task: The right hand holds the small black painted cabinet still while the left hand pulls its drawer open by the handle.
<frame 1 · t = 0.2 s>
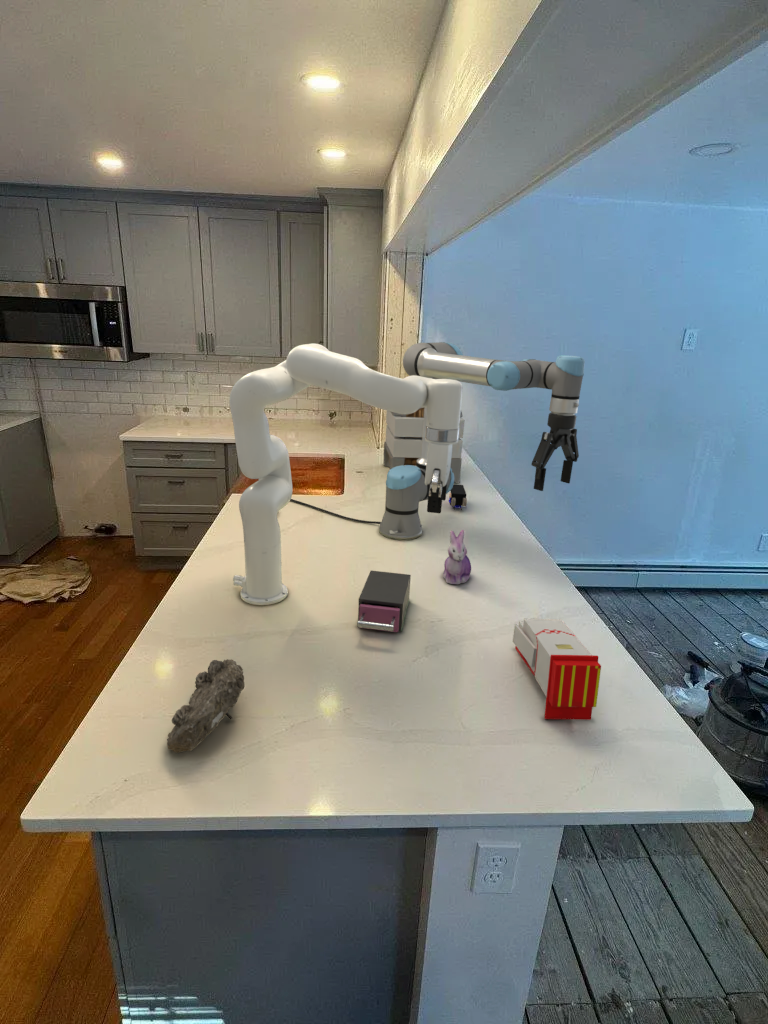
left hand: (436, 505, 135), 31 cm above the counter, tool pointing down, fingers open, 9 cm apart
right hand: (551, 486, 166), 28 cm above the counter, tool pointing down, fingers open, 13 cm apart
white slatted crate: (419, 473, 275), on the counter
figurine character: (456, 506, 231), on the counter
feather: (277, 515, 212), on the counter
toy: (546, 678, 124), on the counter
cabinet: (384, 612, 148), on the counter
drawer: (382, 609, 142), point 4 cm above the counter, slide at 0.7 cm
figurine: (456, 578, 168), on the counter
fossil: (212, 717, 108), on the counter
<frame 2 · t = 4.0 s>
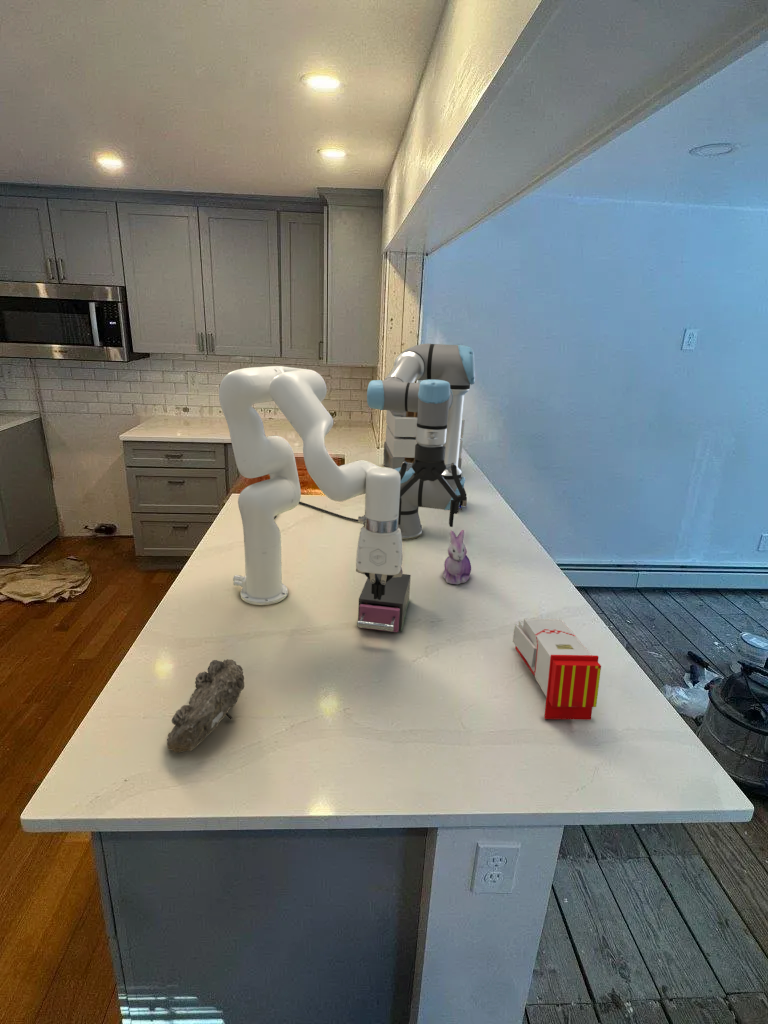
left hand: (378, 596, 132), 11 cm above the counter, tool pointing down, fingers closed
right hand: (424, 524, 148), 22 cm above the counter, tool pointing down, fingers open, 13 cm apart
nothing on the counter moved.
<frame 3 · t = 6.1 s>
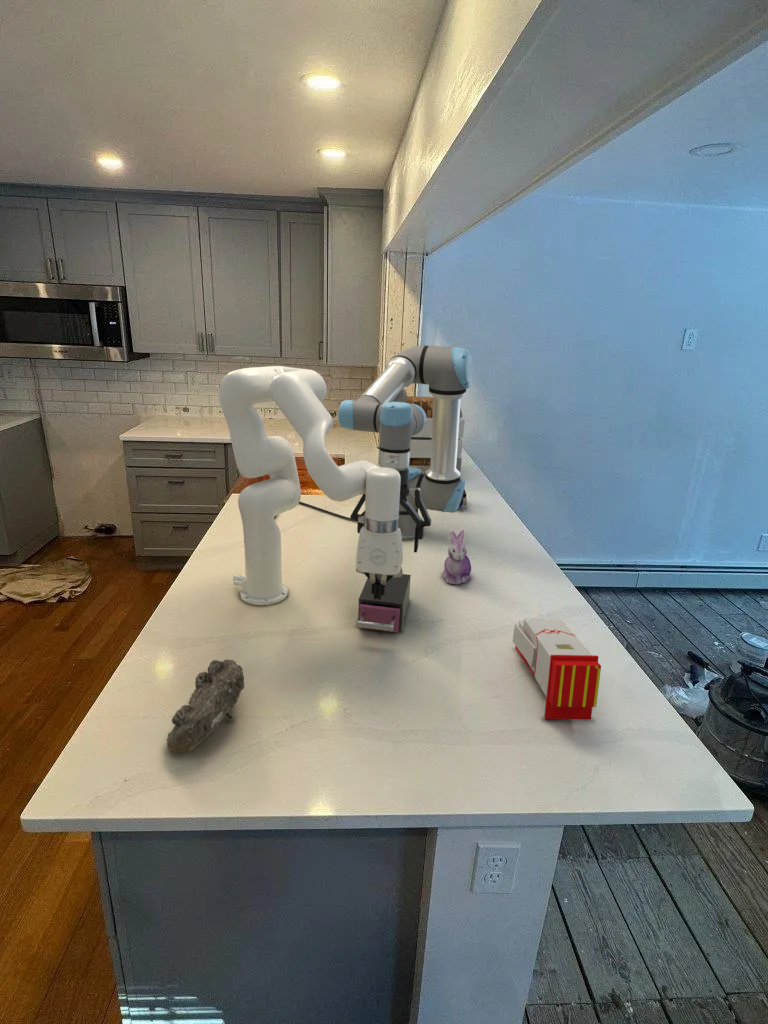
left hand: (378, 596, 132), 11 cm above the counter, tool pointing down, fingers closed
right hand: (389, 547, 145), 17 cm above the counter, tool pointing down, fingers open, 13 cm apart
nothing on the counter moved.
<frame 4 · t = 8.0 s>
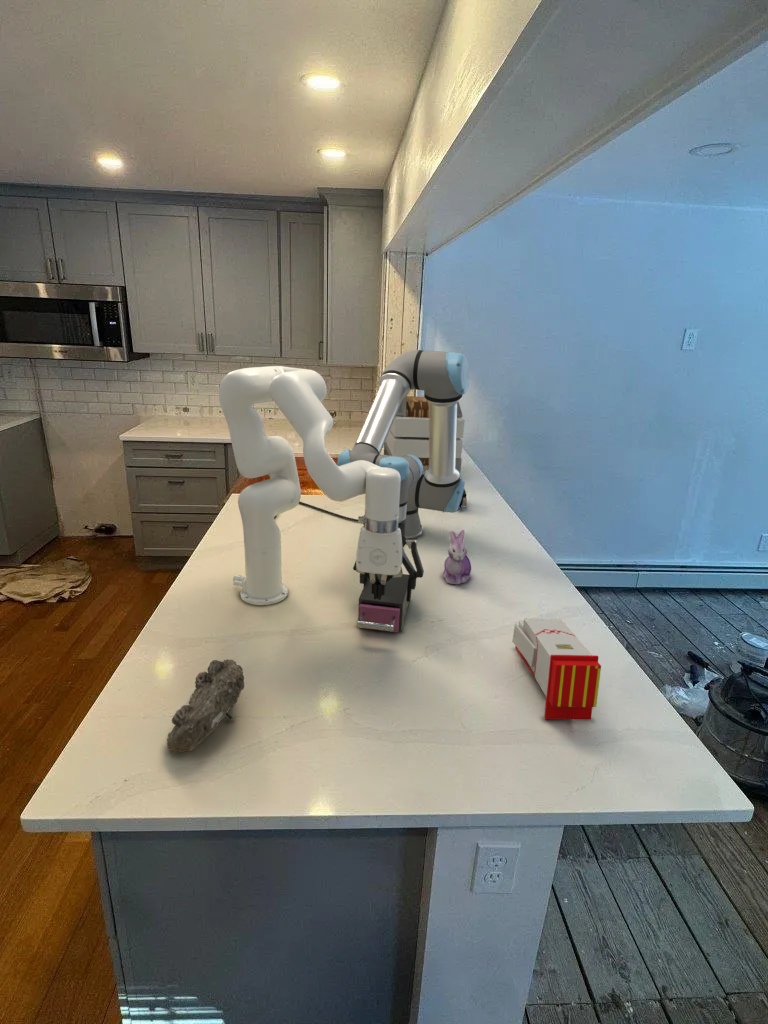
left hand: (378, 596, 132), 11 cm above the counter, tool pointing down, fingers closed
right hand: (387, 596, 150), 3 cm above the counter, tool pointing down, fingers closed on cabinet, 11 cm apart
cabinet: (384, 612, 148), on the counter, touching right hand
everything else where it was.
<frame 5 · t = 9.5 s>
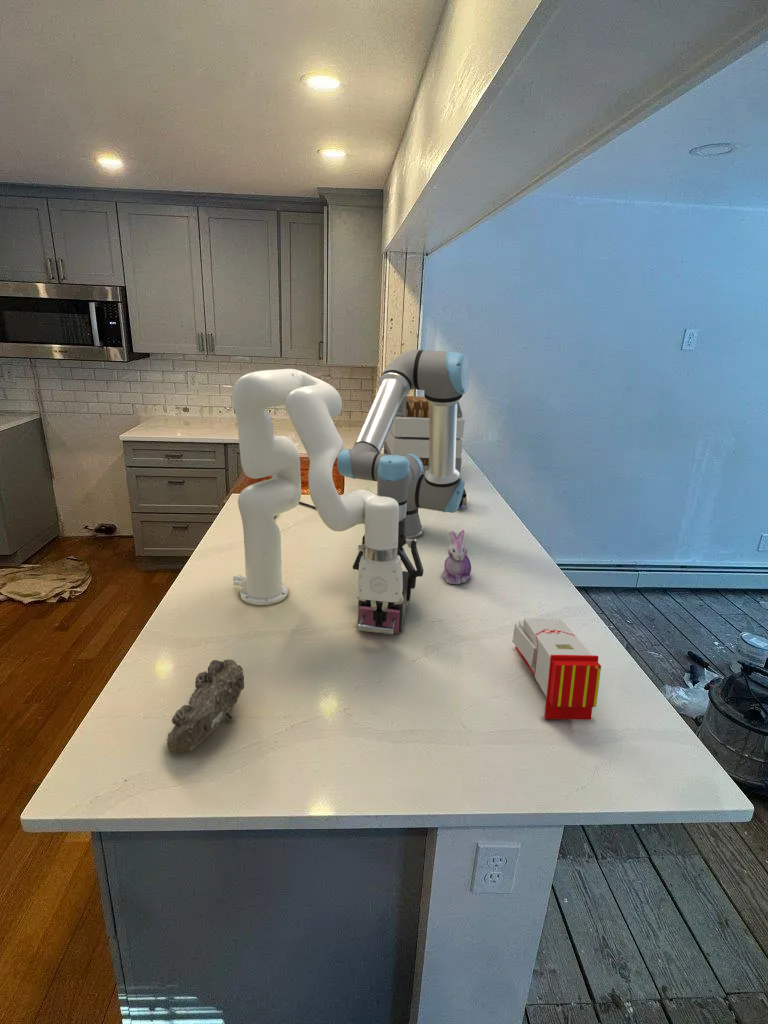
left hand: (379, 623, 134), 5 cm above the counter, tool pointing down, fingers closed
right hand: (386, 596, 149), 3 cm above the counter, tool pointing down, fingers closed on cabinet, 11 cm apart
cabinet: (384, 611, 147), point 1 cm above the counter, touching right hand
drawer: (381, 609, 141), point 4 cm above the counter, slide at 0.8 cm, touching left hand
everything else where it was.
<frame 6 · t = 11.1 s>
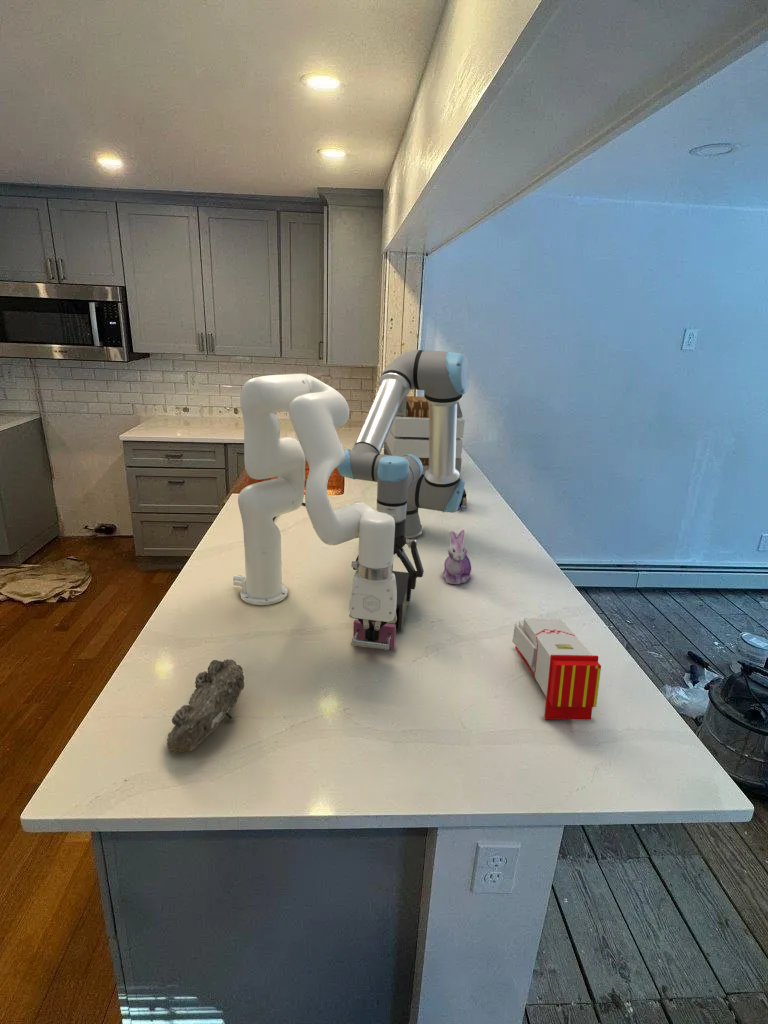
left hand: (371, 641, 129), 3 cm above the counter, tool pointing down, fingers closed
right hand: (386, 596, 149), 3 cm above the counter, tool pointing down, fingers closed on cabinet, 11 cm apart
cabinet: (384, 611, 148), on the counter, touching right hand
drawer: (377, 624, 135), point 4 cm above the counter, slide at 7.2 cm, touching left hand
everything else where it was.
when the right hand's fingers open (3 cm above the counter, at t = 12.8 s): cabinet stays where it is, on the counter.
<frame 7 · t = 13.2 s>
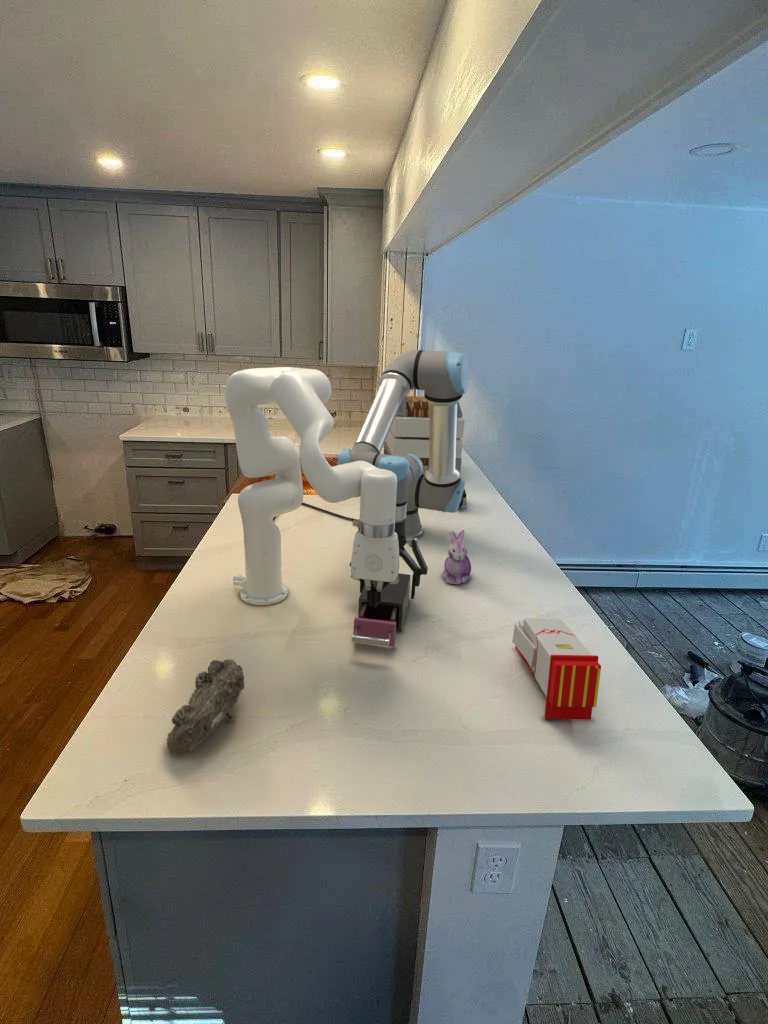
left hand: (373, 604, 126), 13 cm above the counter, tool pointing down, fingers closed
right hand: (387, 593, 150), 4 cm above the counter, tool pointing down, fingers open, 13 cm apart
cabinet: (384, 612, 148), on the counter
drawer: (377, 622, 136), point 4 cm above the counter, slide at 7.1 cm
everything else where it was.
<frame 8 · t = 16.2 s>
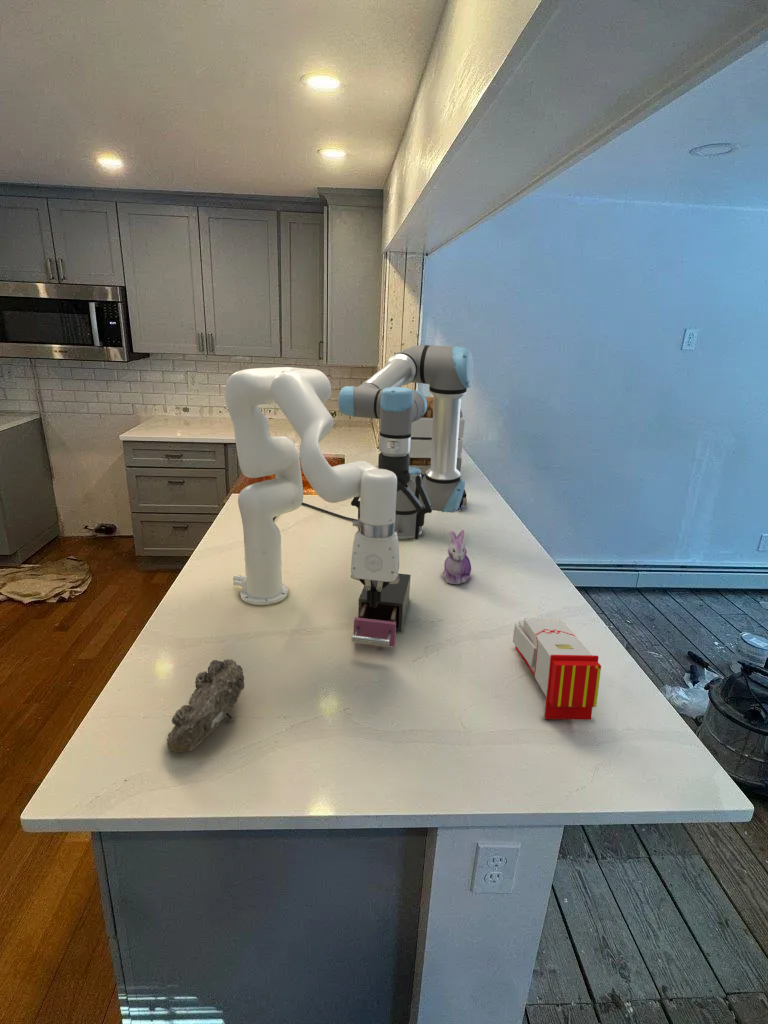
left hand: (373, 604, 126), 13 cm above the counter, tool pointing down, fingers closed
right hand: (390, 534, 144), 21 cm above the counter, tool pointing down, fingers open, 13 cm apart
nothing on the counter moved.
at the end: drawer slide at 7.1 cm; cabinet tilted 0°; cabinet never tilted more than 5° during the clip; cabinet moved 0.1 cm from its start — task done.
